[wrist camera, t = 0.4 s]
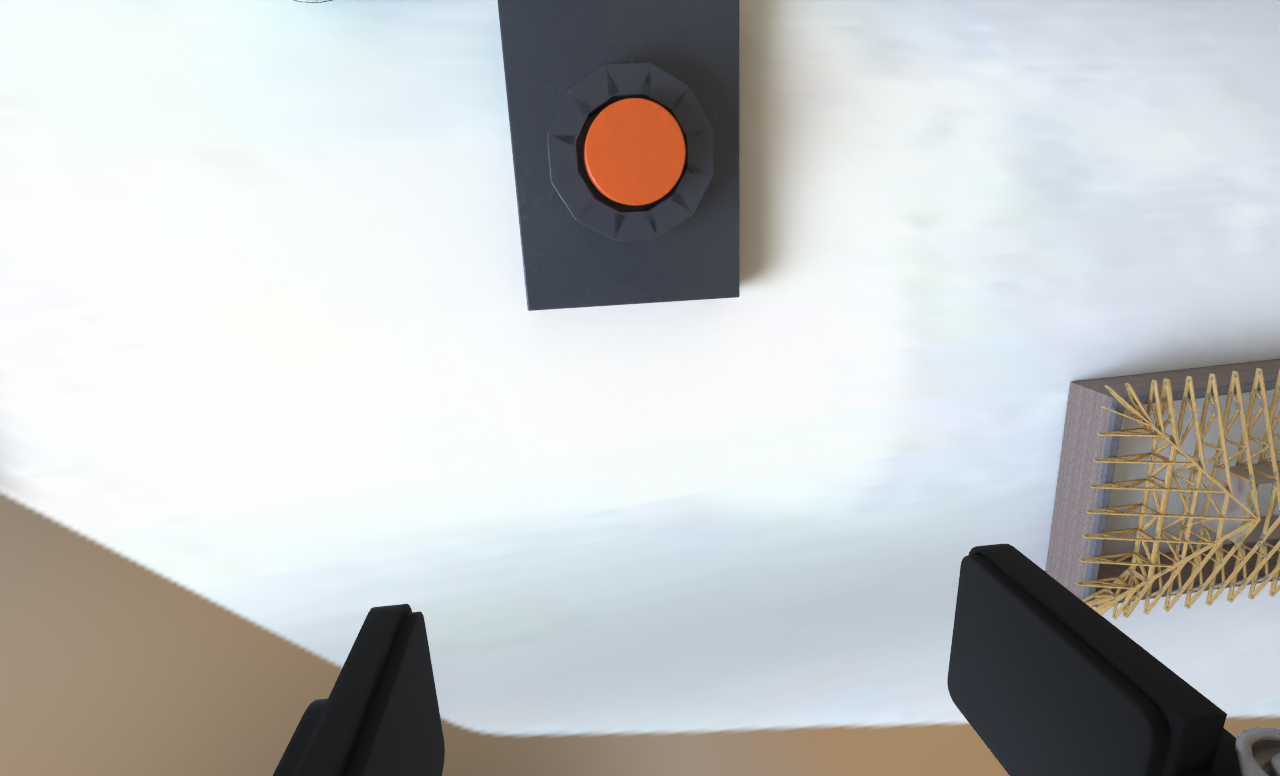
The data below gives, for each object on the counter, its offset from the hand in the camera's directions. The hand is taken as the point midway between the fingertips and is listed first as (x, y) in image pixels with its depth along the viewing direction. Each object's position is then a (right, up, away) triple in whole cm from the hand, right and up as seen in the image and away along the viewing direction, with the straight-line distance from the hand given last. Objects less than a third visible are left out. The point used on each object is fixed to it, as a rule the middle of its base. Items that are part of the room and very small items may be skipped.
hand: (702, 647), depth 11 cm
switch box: (-2, +15, +19) cm, 25 cm away
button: (-1, +14, +16) cm, 21 cm away
